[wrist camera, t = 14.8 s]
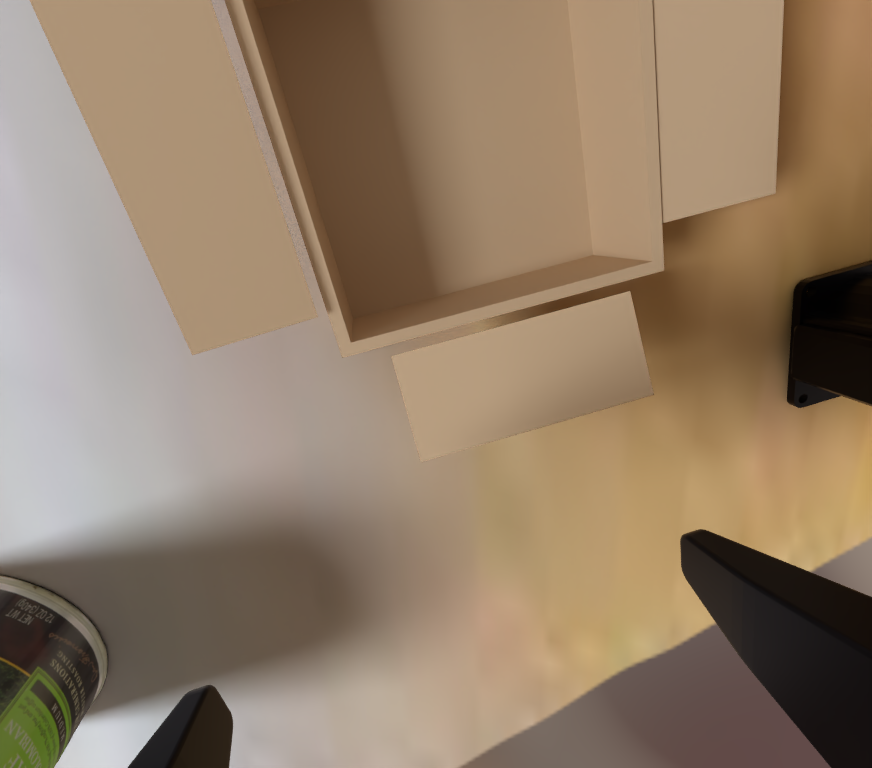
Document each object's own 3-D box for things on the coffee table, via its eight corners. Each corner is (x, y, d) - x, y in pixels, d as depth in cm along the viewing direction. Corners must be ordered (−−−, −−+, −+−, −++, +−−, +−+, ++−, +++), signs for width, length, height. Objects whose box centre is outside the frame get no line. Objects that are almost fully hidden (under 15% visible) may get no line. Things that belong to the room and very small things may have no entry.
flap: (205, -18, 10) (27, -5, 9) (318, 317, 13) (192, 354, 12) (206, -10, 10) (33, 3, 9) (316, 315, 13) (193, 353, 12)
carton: (674, -261, 14) (808, -472, 10) (686, 238, 19) (775, 239, 15) (189, -171, 13) (105, -364, 9) (346, 328, 18) (342, 358, 14)
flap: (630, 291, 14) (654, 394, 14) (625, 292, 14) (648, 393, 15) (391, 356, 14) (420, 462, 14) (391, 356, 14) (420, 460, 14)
